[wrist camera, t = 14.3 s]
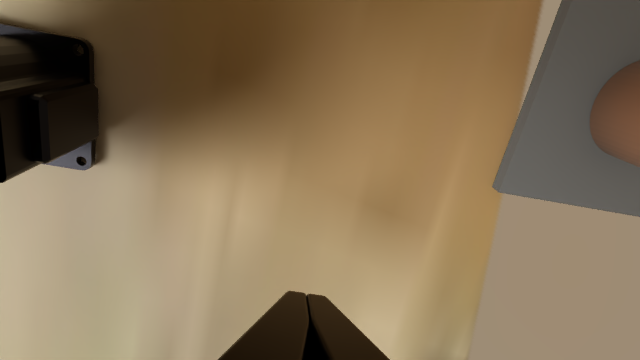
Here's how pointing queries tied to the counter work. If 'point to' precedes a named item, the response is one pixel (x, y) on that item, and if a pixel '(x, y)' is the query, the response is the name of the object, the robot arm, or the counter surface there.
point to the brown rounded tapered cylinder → (619, 115)
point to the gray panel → (574, 112)
